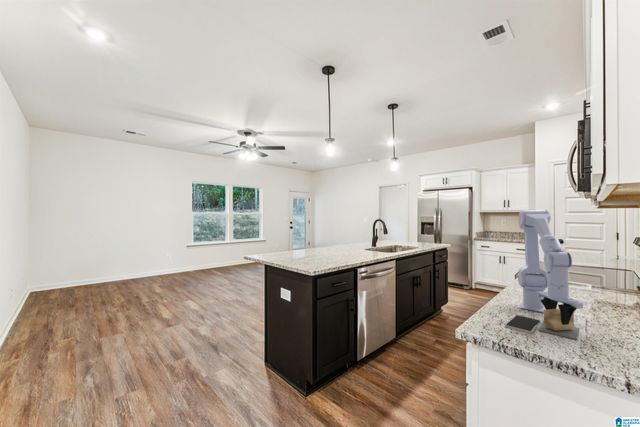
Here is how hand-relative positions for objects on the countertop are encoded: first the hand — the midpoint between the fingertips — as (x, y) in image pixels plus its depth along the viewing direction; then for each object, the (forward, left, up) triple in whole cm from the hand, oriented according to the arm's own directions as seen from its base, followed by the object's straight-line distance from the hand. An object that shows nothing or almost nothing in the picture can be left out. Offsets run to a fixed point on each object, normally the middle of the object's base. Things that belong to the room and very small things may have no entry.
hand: (558, 321), depth 96 cm
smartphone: (+3, -10, -4) cm, 11 cm away
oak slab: (0, 0, -2) cm, 2 cm away
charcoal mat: (0, 0, -3) cm, 3 cm away
